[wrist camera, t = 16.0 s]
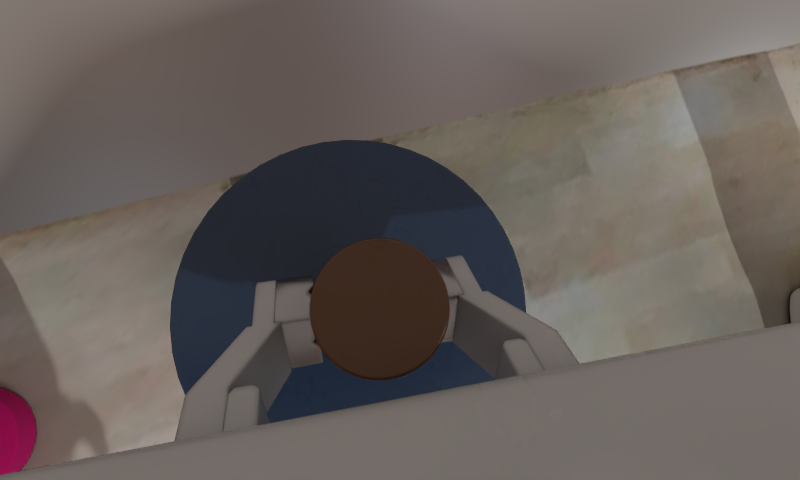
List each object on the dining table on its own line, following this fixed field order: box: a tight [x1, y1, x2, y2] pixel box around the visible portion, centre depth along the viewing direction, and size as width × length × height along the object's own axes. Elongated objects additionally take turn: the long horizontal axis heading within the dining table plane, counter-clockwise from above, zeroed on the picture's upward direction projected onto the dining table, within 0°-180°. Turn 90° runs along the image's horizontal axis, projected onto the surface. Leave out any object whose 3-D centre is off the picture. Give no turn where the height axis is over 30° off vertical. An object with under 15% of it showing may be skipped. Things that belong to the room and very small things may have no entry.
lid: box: [170, 140, 526, 423], centre depth 12 cm, size 13×13×8 cm
